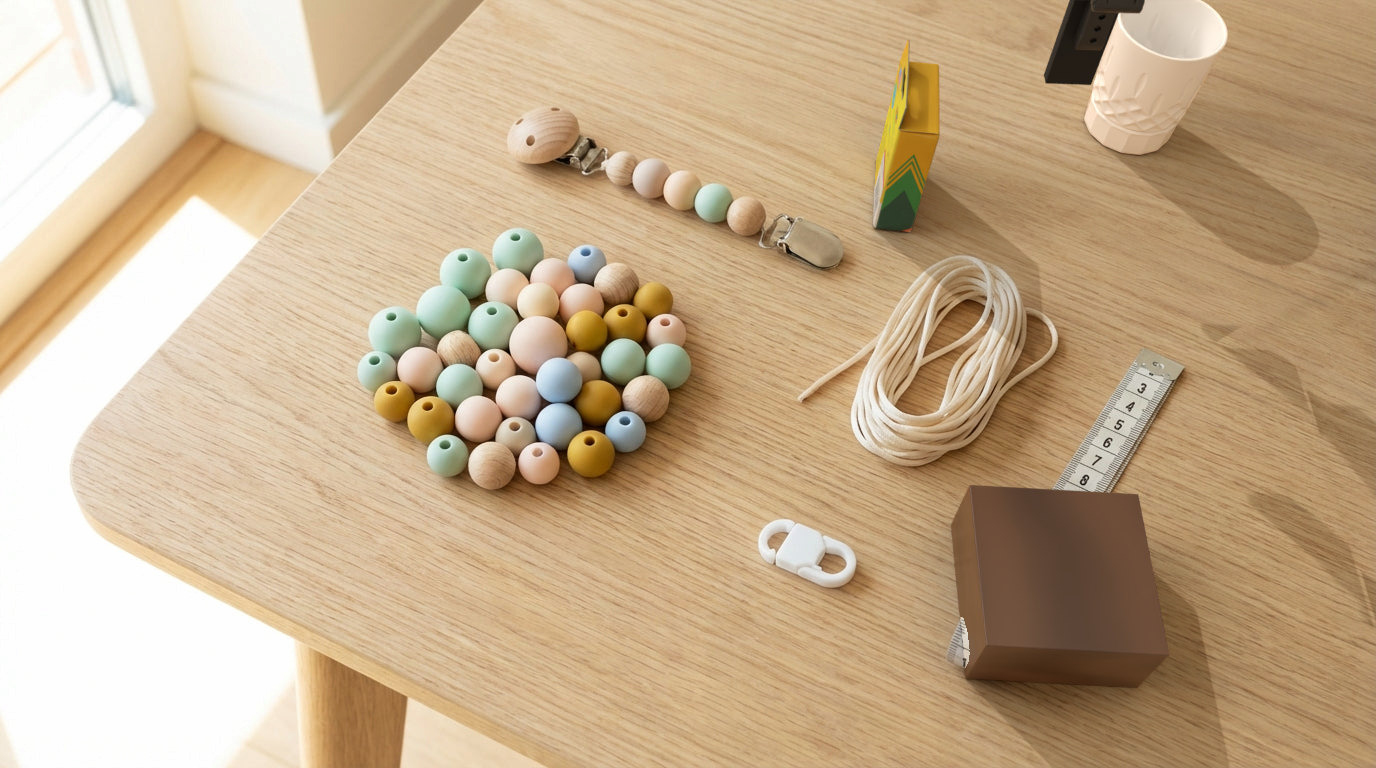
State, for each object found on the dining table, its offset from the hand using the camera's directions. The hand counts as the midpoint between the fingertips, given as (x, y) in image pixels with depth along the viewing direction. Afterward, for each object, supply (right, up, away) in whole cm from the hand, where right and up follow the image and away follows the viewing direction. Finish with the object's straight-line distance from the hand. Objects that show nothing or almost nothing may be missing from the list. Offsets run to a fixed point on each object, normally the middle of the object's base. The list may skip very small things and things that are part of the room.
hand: (1050, 6), depth 76 cm
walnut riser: (-2, -37, -3) cm, 37 cm away
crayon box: (-7, -10, +15) cm, 19 cm away
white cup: (+12, -3, +20) cm, 24 cm away
